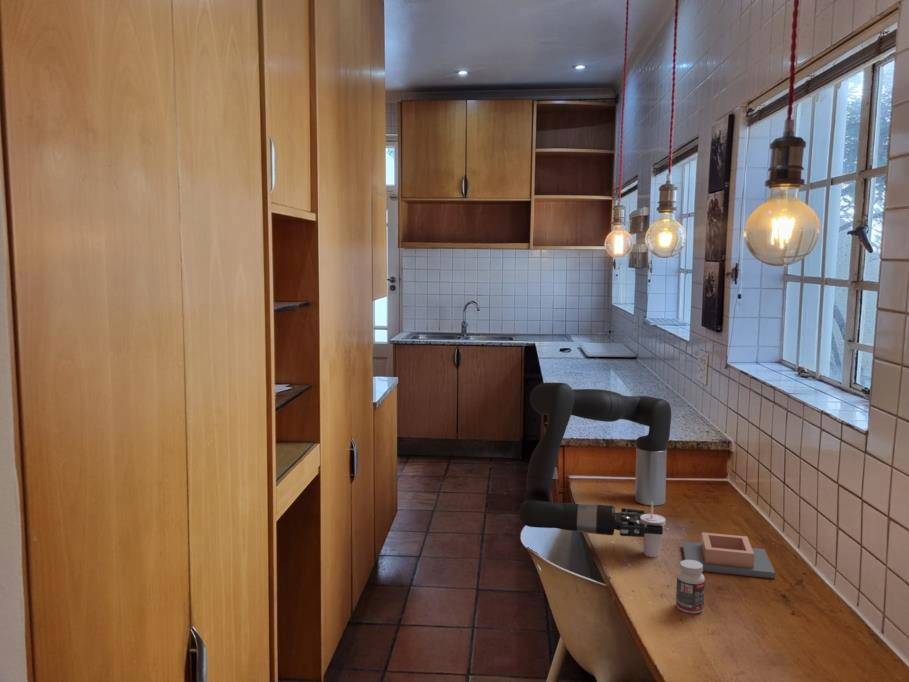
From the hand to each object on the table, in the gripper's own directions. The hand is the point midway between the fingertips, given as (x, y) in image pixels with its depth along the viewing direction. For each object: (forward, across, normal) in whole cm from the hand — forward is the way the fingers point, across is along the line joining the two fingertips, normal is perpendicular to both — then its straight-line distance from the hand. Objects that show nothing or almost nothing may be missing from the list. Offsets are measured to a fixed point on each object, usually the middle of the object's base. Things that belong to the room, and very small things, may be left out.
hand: (662, 525), depth 173 cm
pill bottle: (+5, -27, +8) cm, 28 cm away
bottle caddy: (+16, 0, +8) cm, 18 cm away
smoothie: (-2, 0, +8) cm, 9 cm away
